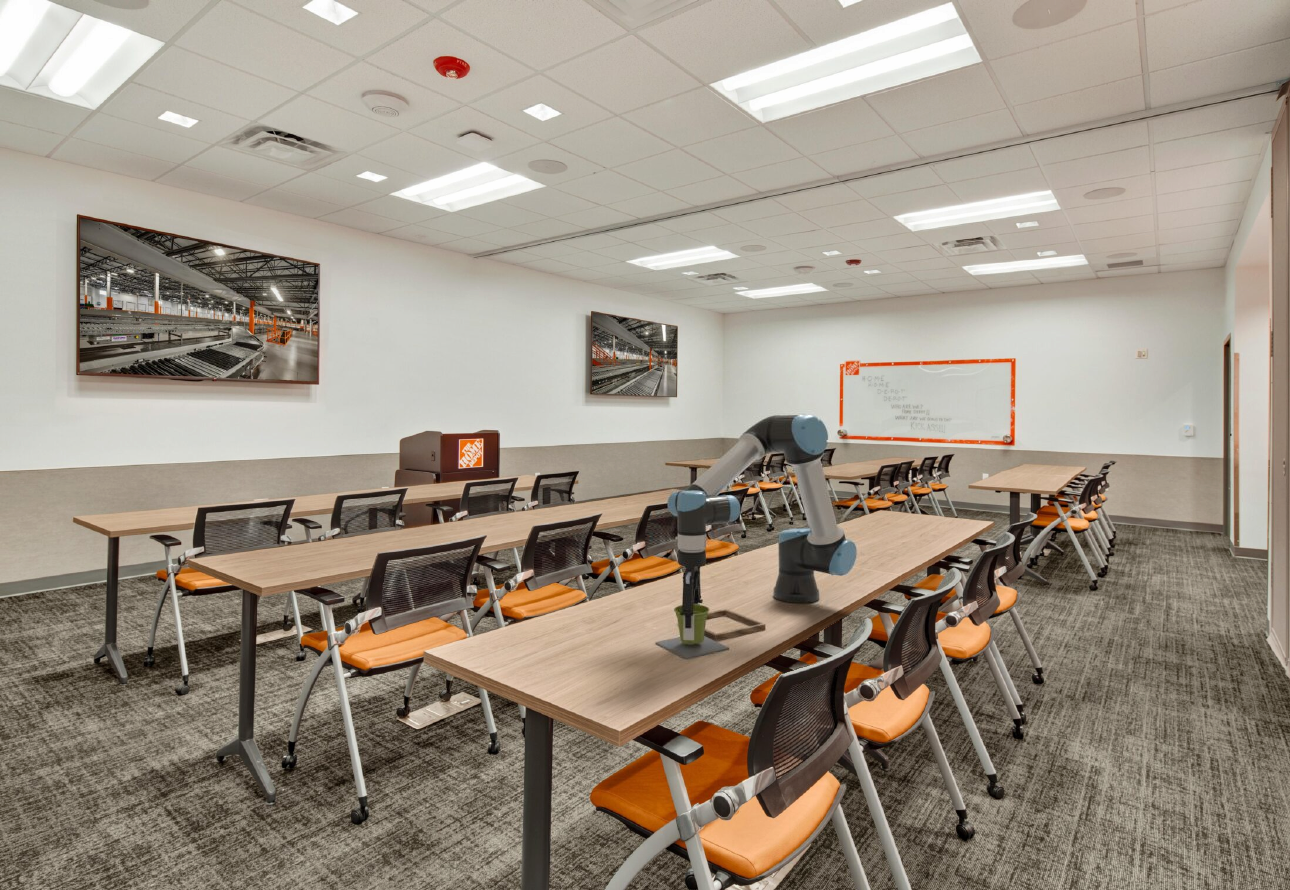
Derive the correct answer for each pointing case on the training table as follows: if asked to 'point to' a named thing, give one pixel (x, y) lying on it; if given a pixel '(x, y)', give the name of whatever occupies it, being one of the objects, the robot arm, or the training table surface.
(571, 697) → the training table surface
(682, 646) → the mat
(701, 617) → the plant pot
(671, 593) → the training table surface
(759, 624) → the tray frame
